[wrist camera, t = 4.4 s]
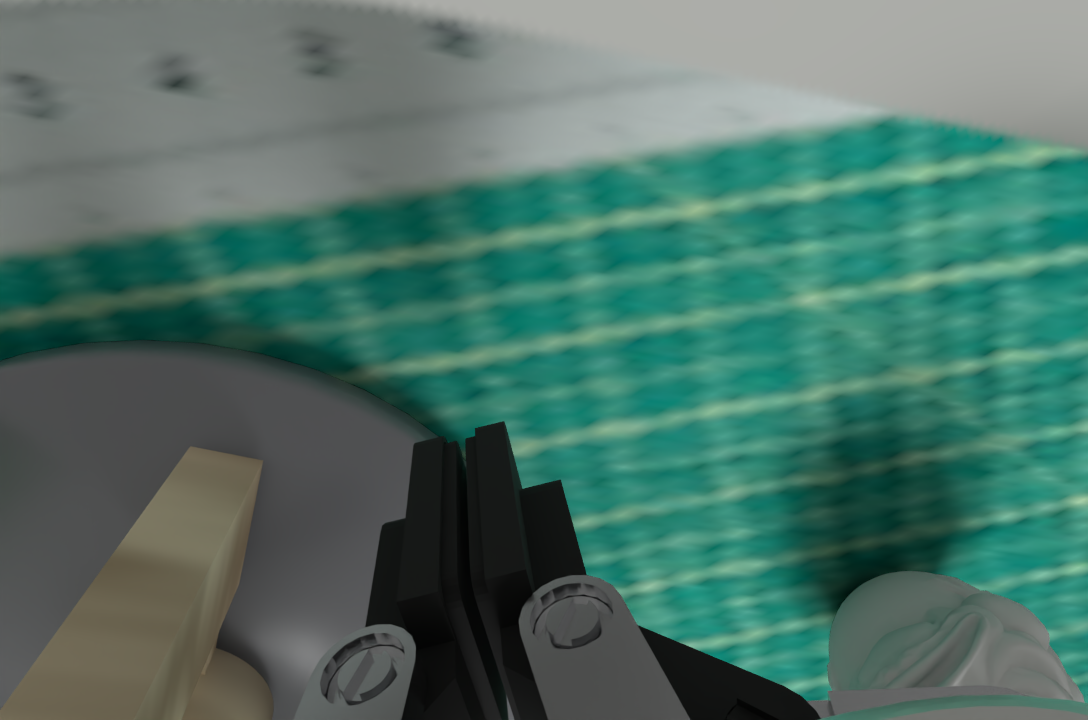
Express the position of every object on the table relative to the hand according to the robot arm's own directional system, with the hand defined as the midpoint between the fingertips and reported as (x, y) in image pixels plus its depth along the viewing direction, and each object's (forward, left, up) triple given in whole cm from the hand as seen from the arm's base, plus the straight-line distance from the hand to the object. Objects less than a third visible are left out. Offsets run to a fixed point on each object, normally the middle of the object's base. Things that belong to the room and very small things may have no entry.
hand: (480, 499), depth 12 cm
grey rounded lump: (-4, -14, -5) cm, 15 cm away
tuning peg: (-7, +5, -3) cm, 9 cm away
